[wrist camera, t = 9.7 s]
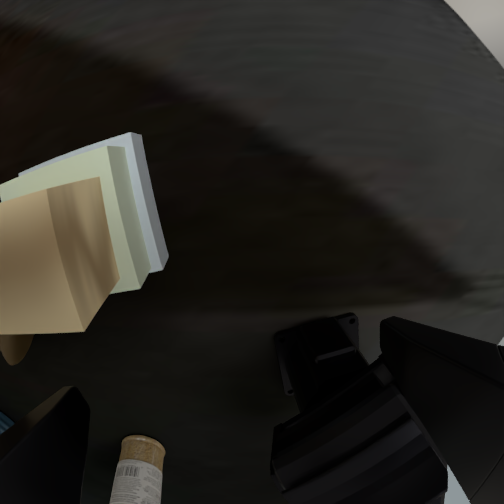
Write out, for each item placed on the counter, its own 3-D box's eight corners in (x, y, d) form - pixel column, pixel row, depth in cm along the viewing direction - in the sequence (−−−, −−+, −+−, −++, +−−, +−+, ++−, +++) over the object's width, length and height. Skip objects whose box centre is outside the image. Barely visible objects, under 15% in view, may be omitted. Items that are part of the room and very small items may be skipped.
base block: (169, 254, 20) (162, 270, 17) (70, 275, 20) (52, 292, 17) (143, 135, 18) (130, 132, 15) (41, 169, 17) (18, 173, 14)
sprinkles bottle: (128, 455, 25) (112, 561, 13) (117, 430, 24) (92, 547, 11) (169, 459, 26) (164, 569, 13) (162, 434, 25) (151, 558, 12)
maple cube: (120, 278, 14) (84, 331, 9) (41, 287, 14) (-7, 334, 9) (99, 176, 13) (46, 188, 8) (19, 197, 12) (-44, 218, 7)
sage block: (151, 267, 17) (140, 288, 14) (54, 285, 17) (33, 306, 14) (124, 147, 15) (106, 145, 12) (26, 179, 15) (-2, 185, 12)
